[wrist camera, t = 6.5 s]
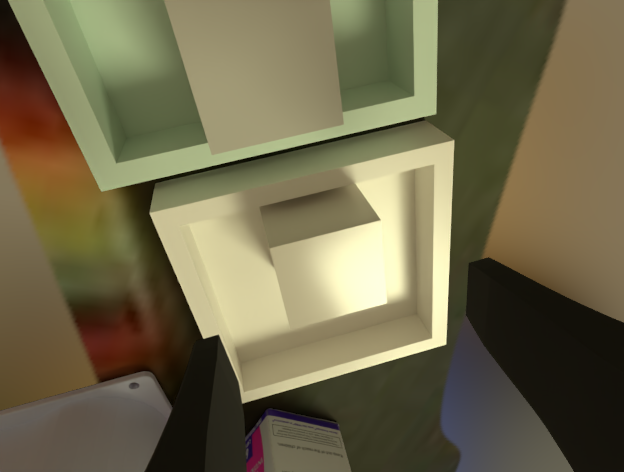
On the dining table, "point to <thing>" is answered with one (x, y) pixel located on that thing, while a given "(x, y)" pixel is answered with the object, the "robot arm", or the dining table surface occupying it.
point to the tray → (260, 269)
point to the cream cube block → (258, 68)
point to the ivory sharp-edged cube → (326, 254)
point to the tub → (177, 91)
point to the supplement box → (295, 444)
